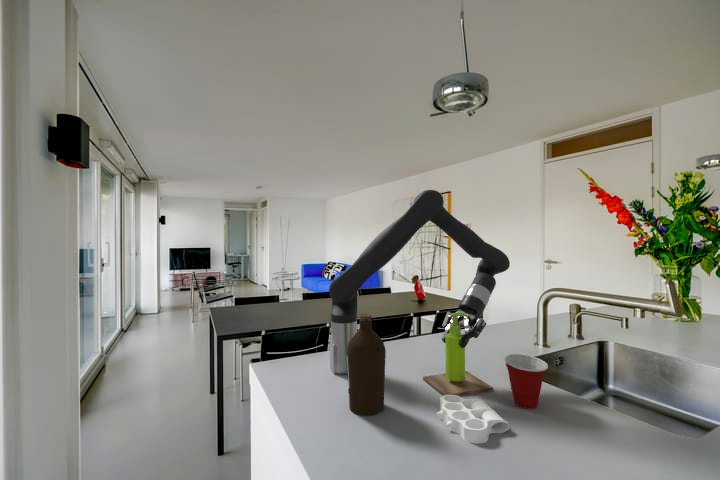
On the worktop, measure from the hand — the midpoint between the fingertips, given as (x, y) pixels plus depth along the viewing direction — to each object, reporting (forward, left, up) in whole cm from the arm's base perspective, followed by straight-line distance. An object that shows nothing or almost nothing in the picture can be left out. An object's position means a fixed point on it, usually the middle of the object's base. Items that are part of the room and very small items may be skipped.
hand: (452, 343), depth 105 cm
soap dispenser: (+2, 0, -11) cm, 11 cm away
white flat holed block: (-8, -20, -14) cm, 25 cm away
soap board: (+2, 0, -13) cm, 13 cm away
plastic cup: (+13, -17, -13) cm, 25 cm away
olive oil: (-29, -5, -13) cm, 33 cm away
